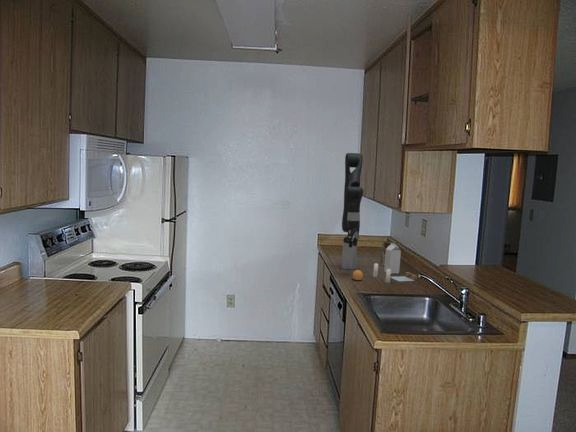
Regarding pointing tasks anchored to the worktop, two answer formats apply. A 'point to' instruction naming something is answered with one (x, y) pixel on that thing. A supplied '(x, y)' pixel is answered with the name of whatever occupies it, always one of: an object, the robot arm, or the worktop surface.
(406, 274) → the backstop strip
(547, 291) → the worktop surface
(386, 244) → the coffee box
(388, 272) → the right post
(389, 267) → the milk carton
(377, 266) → the left post
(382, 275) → the worktop surface
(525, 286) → the worktop surface
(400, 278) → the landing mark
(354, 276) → the ball
